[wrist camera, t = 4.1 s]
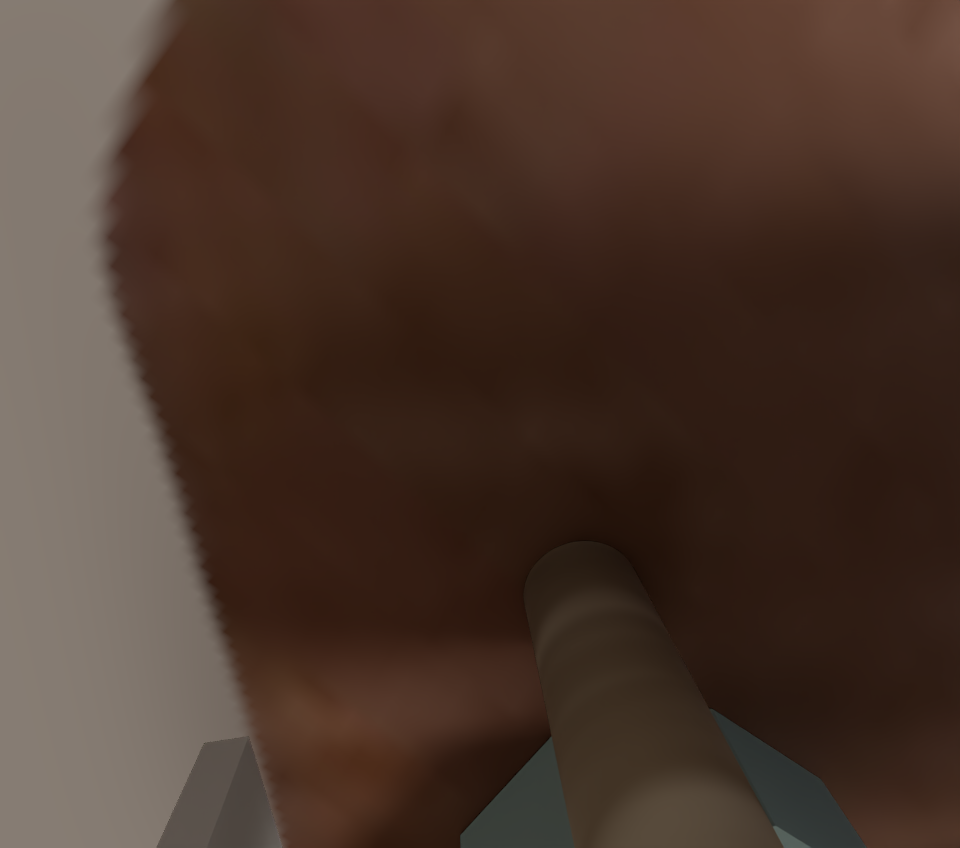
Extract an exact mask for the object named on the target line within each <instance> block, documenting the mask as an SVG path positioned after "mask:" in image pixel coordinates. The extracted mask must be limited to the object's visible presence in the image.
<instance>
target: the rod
mask: <svg viewBox="0 0 960 848" xmlns="http://www.w3.org/2000/svg"><path fill="white" fill-rule="evenodd" d="M523 597H524V605H525V610H526V615H527V620H528V624H529V629H530V634H531V639H532V644H533V649H534V654H535V658H536V663H537V668H538V673H539V678H540V683H541V687H542V692H543V697H544V702H545V707H546V712H547V716H548V721H549V726H550V731H551V736H552V741H553V746H554V750H555V755H556V760H557V765H558V770H559V775H560V779H561V784H562V789H563V794H564V799H565V804H566V808H567V813H568V818H569V823H570V828H571V833H572V838H573V842H574V847H575V848H784V847H783V845H782V843H781V841H780V839H779V838H778V836H777V834H776V832H775V830H774V828H773V826H772V825H771V823H770V821H769V819H768V817H767V815H766V813H765V812H764V810H763V808H762V806H761V804H760V802H759V800H758V799H757V797H756V795H755V793H754V791H753V789H752V787H751V786H750V784H749V782H748V780H747V778H746V776H745V774H744V773H743V771H742V769H741V767H740V765H739V763H738V761H737V760H736V758H735V756H734V754H733V752H732V750H731V748H730V747H729V745H728V743H727V741H726V739H725V737H724V735H723V734H722V732H721V730H720V728H719V726H718V724H717V722H716V721H715V719H714V717H713V715H712V713H711V711H710V709H709V708H708V706H707V704H706V702H705V700H704V698H703V696H702V695H701V693H700V691H699V689H698V687H697V685H696V683H695V682H694V680H693V678H692V676H691V674H690V672H689V670H688V669H687V667H686V665H685V663H684V661H683V659H682V657H681V656H680V654H679V652H678V650H677V648H676V646H675V644H674V643H673V641H672V639H671V637H670V635H669V633H668V631H667V630H666V628H665V626H664V624H663V622H662V620H661V618H660V617H659V615H658V613H657V611H656V609H655V607H654V605H653V604H652V602H651V600H650V598H649V596H648V594H647V592H646V591H645V589H644V587H643V585H642V583H641V581H640V579H639V578H638V576H637V574H636V572H635V570H634V568H633V566H632V565H631V563H630V562H629V560H628V559H627V558H626V557H625V556H624V555H623V554H622V553H620V552H619V551H618V550H616V549H614V548H613V547H611V546H608V545H606V544H603V543H599V542H593V541H577V542H571V543H567V544H564V545H561V546H559V547H557V548H554V549H553V550H551V551H549V552H548V553H546V554H545V555H544V556H543V557H541V558H540V559H539V560H538V562H537V563H536V564H535V565H534V566H533V568H532V569H531V571H530V573H529V574H528V577H527V579H526V582H525V586H524V594H523Z"/></svg>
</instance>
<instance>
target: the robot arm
mask: <svg viewBox="0 0 960 848" xmlns="http://www.w3.org/2000/svg"><path fill="white" fill-rule="evenodd" d="M157 848H283V847H282V844H281V840H280V837H279V834H278V830H277V827H276V824H275V821H274V817H273V814H272V811H271V807H270V804H269V801H268V798H267V794H266V791H265V788H264V785H263V781H262V778H261V775H260V771H259V768H258V765H257V762H256V758H255V755H254V752H253V748H252V745H251V742H250V739H249V736H247V737H241V738H234V739H228V740H221V741H215V742H208V743H204V745H203V747H202V749H201V751H200V754H199V756H198V758H197V760H196V762H195V764H194V767H193V769H192V771H191V773H190V775H189V778H188V780H187V782H186V784H185V786H184V789H183V791H182V793H181V795H180V797H179V799H178V802H177V804H176V806H175V808H174V810H173V813H172V815H171V817H170V819H169V821H168V824H167V826H166V828H165V830H164V832H163V835H162V837H161V839H160V841H159V843H158V845H157Z"/></svg>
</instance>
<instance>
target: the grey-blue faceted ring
mask: <svg viewBox="0 0 960 848" xmlns="http://www.w3.org/2000/svg"><path fill="white" fill-rule="evenodd" d="M710 711H711V713H712V715H713V717H714V719H715V721H716V722H717V724H718V726H719V728H720V730H721V732H722V734H723V735H724V737H725V739H726V741H727V743H728V745H729V747H730V748H731V750H732V752H733V754H734V756H735V758H736V760H737V761H738V763H739V765H740V767H741V769H742V771H743V773H744V774H745V776H746V778H747V780H748V782H749V784H750V786H751V787H752V789H753V791H754V793H755V795H756V797H757V799H758V800H759V802H760V804H761V806H762V808H763V810H764V812H765V813H766V815H767V817H768V819H769V821H770V823H771V825H772V826H773V828H774V830H775V832H776V834H777V836H778V838H779V839H780V841H781V843H782V845H783V847H784V848H867V847H866V846H865V844H864V843H863V841H862V840H861V838H860V837H859V835H858V834H857V832H856V831H855V829H854V828H853V826H852V825H851V823H850V822H849V820H848V819H847V817H846V816H845V814H844V813H843V811H842V810H841V808H840V807H839V805H838V804H837V802H836V801H835V799H834V798H833V797H832V795H831V794H830V792H829V791H828V789H827V788H826V786H825V785H824V783H823V782H822V780H821V779H820V778H818V777H817V776H815V775H814V774H812V773H810V772H809V771H807V770H806V769H804V768H803V767H801V766H800V765H798V764H797V763H795V762H794V761H792V760H790V759H789V758H787V757H786V756H784V755H783V754H781V753H780V752H778V751H777V750H775V749H774V748H772V747H770V746H769V745H767V744H766V743H764V742H763V741H761V740H760V739H758V738H757V737H755V736H753V735H752V734H750V733H749V732H747V731H746V730H744V729H743V728H741V727H740V726H738V725H737V724H735V723H733V722H732V721H730V720H729V719H727V718H726V717H724V716H723V715H721V714H720V713H718V712H716V711H715V710H713V709H710ZM460 844H461V848H575V847H574V842H573V838H572V833H571V828H570V823H569V818H568V813H567V808H566V804H565V799H564V794H563V789H562V784H561V779H560V775H559V770H558V765H557V760H556V755H555V750H554V746H553V741H552V736H551V737H550V738H549V740H548V741H547V742H546V743H545V744H544V745H543V746H542V747H541V748H540V749H539V750H538V751H537V753H536V754H535V755H534V756H533V757H532V758H531V759H530V760H529V761H528V762H527V763H526V764H525V766H524V767H523V768H522V769H521V770H520V771H519V772H518V773H517V774H516V775H515V776H514V777H513V779H512V780H511V781H510V782H509V783H508V784H507V785H506V786H505V787H504V788H503V789H502V790H501V792H500V793H499V794H498V795H497V796H496V797H495V798H494V799H493V800H492V801H491V802H490V803H489V805H488V806H487V807H486V808H485V809H484V810H483V811H482V812H481V813H480V814H479V815H478V817H477V818H476V819H475V820H474V821H473V822H472V823H471V824H470V825H469V826H468V827H467V828H466V830H465V831H464V832H463V833H462V834H461V835H460Z"/></svg>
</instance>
